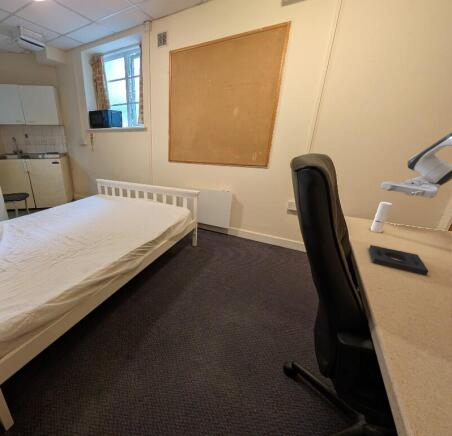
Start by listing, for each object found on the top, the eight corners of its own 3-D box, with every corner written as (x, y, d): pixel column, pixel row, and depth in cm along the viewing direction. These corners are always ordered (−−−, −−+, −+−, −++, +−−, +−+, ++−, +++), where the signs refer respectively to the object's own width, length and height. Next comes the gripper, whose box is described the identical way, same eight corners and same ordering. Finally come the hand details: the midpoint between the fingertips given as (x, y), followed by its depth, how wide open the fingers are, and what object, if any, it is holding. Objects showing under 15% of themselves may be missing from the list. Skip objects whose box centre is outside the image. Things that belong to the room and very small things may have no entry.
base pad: (415, 258, 87) (417, 254, 87) (426, 275, 77) (428, 270, 76) (368, 248, 95) (370, 244, 95) (372, 262, 85) (374, 258, 84)
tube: (378, 229, 115) (388, 202, 110) (383, 232, 111) (394, 204, 106) (368, 228, 116) (378, 201, 111) (373, 231, 112) (383, 203, 107)
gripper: (390, 177, 123) (377, 181, 118) (445, 185, 106) (432, 190, 101) (386, 188, 125) (373, 192, 120) (439, 197, 108) (426, 203, 103)
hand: (400, 191), depth 110 cm, fingers open, 8 cm apart
